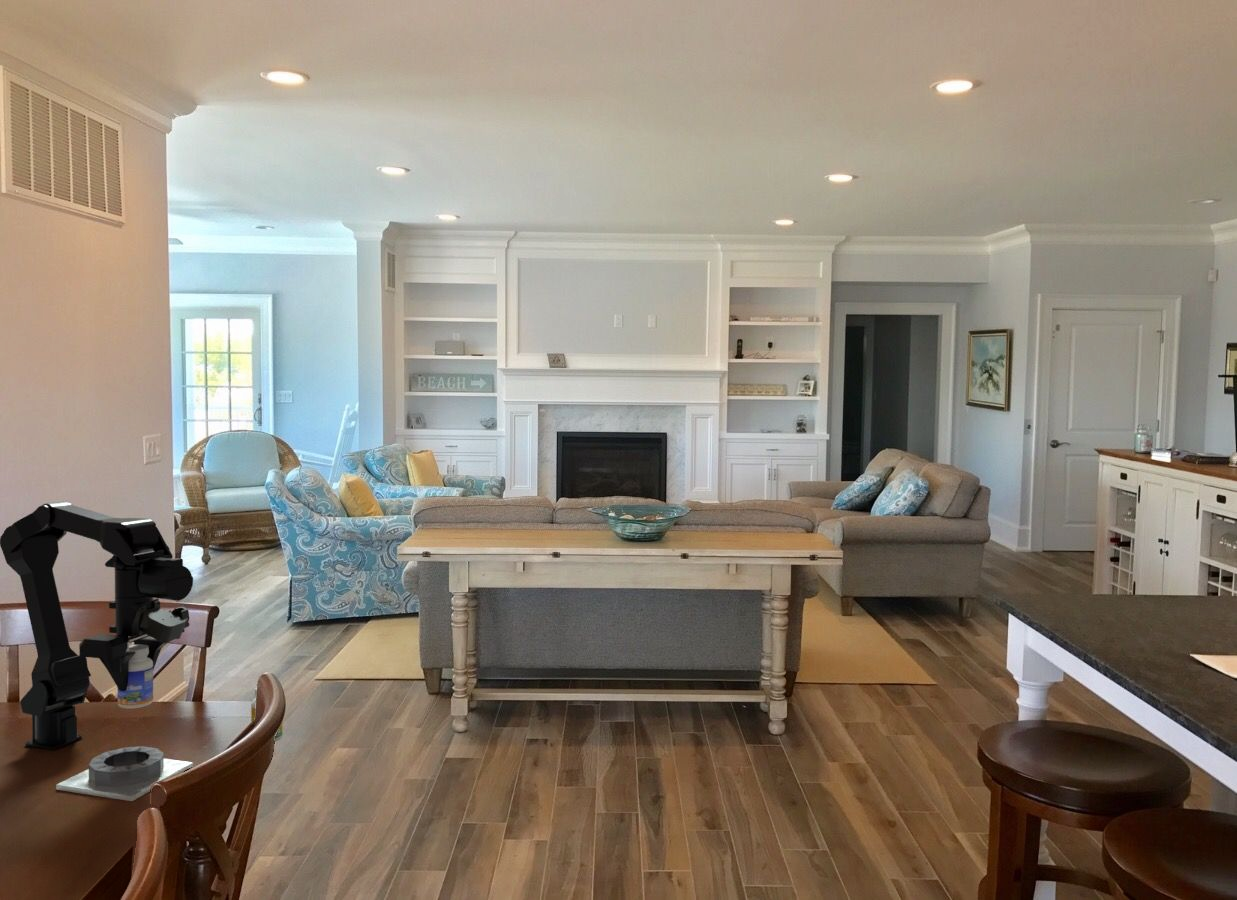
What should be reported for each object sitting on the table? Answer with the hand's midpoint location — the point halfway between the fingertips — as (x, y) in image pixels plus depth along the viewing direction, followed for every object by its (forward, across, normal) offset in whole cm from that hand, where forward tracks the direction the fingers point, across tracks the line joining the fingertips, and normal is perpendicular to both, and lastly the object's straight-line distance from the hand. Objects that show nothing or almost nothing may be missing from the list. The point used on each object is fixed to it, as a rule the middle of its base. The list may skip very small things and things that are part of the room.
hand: (135, 685), depth 162 cm
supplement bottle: (+13, +15, -15) cm, 25 cm away
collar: (+13, -6, -3) cm, 15 cm away
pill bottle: (+3, 0, 0) cm, 3 cm away
